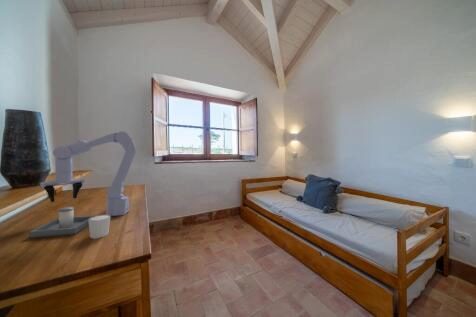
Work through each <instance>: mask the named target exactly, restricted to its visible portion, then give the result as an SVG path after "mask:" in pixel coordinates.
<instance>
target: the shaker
mask: <svg viewBox="0 0 476 317" xmlns="http://www.w3.org/2000/svg"><path fill="white" fill-rule="evenodd" d="M74 210H75V207H74V206H65V207H60V208H58V210H57V211H58V218H59V229H64V228H70V227H73V226H74V217H75V216H74V214H75V213H74Z"/></svg>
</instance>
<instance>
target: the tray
mask: <svg viewBox="0 0 476 317" xmlns="http://www.w3.org/2000/svg"><path fill="white" fill-rule="evenodd" d="M95 216H96V215H80V216H74V226H73V227H70V228H64V229H59V217H57V218H55V219H53V220H51V221H49V222H47V223H45V224H43V225H40V226H38V227H36V228H35V229H31V230H30V231H29V239H36V238H37V239H39V238H49V237H61V236H62V237H63V236H74V235H77V234H79V233H80V232H81V231H83V230H85V229H86V228H87V227H89V222H88V220H89V219H90V218H92V217H95Z"/></svg>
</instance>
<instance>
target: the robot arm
mask: <svg viewBox="0 0 476 317" xmlns="http://www.w3.org/2000/svg"><path fill="white" fill-rule="evenodd" d="M134 140H135V139H134V138H133V137H132V136H131V135H130V134H129V133H127V132H125V131H119V132H113V133H109V134H106V135H104V136H101V137H98V138H94V139H92V140H89V141H87V140H81V139H79V140H77V141H76V142H74V143H66V144H65V146H63V145H61V146H58V147H55V148H54V149H53V150H52V155H53V156H54V158H55V163H54V164H55V170H54V171H55V177H54V179H55V180H52V181H43V182H40V188H44V190H45V191H46V193H47V195H48V197H49V199H50V202H51V203H53V202H55V190H56V189H55V187H56V186H66V185H67V186H68V185H72V198H73V199H77V197H78V194H79V192H80V190H81V188H82V187H83V184H84V183H85V178H78V179H76V178H75V179H73V163H74V162H73V158H74V157H75V156H78V155H81V154H82V155H83V154H85V153H88V152H91V151H92V149H93V148H94V147H98V146H101V145H104V144H108V143H117V144H119V145H121V146H122V148H123V149H124V151H125V152H124V154H123V156H122V160H121V162H120V164H119V167H118V168H117V169H118V170H117V172H116V175H115V177H114V179H113V181H112V183H111V185H110V187H109V188H107V190H106V195H107V197H106V198H107V199H106V201H107V202H106V213H104V214H103V215H110V217H112V216H115V217H116V216H124V215H126V214H127V213H128V212H129V211H130V197H129V196H125V195H124V194H123V192H124V191H125V183H126V179H127V176H128V173H129V171H130V168H131V166H132V163H133V161H134V158H135V155H136V153H137V146H136V145H135V141H134Z"/></svg>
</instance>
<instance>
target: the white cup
mask: <svg viewBox="0 0 476 317" xmlns="http://www.w3.org/2000/svg"><path fill="white" fill-rule="evenodd" d="M94 216H95V217H92V218H90V219H89V220H88V222H89V225H88V229H89V237H90V239H99V238H103V237H105V236H108V235H109V230H110V223H111V216H110V215H104V214H100V215H94Z"/></svg>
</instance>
